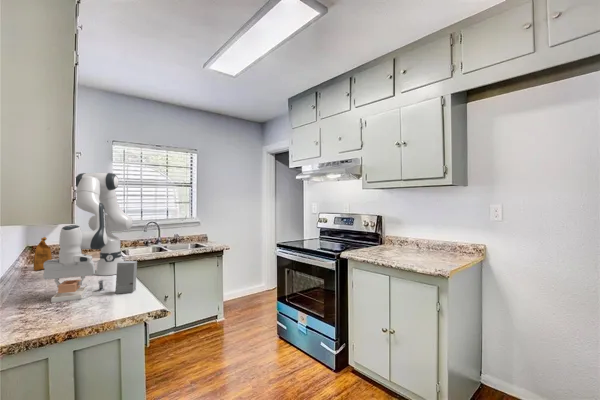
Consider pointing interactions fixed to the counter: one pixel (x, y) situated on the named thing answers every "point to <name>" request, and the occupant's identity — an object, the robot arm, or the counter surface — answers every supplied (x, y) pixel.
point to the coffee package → (41, 255)
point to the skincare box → (126, 277)
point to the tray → (69, 295)
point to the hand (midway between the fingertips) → (69, 286)
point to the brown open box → (68, 286)
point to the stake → (100, 286)
